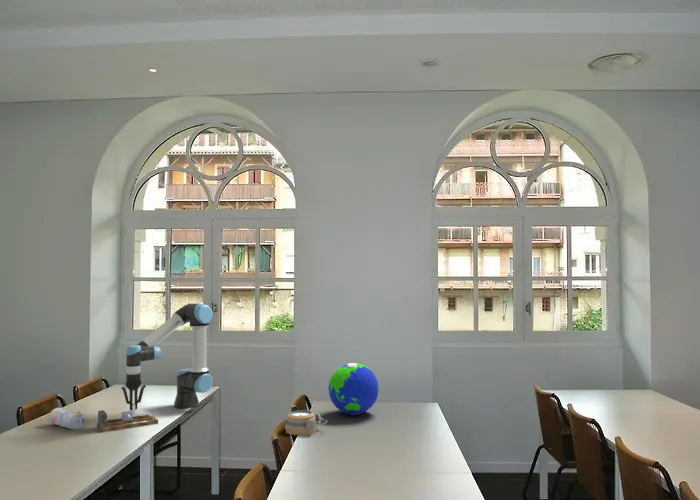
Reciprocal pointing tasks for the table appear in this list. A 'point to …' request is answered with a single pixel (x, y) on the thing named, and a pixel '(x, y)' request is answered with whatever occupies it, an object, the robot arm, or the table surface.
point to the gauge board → (123, 422)
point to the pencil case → (66, 418)
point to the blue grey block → (127, 415)
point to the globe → (353, 388)
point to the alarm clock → (302, 422)
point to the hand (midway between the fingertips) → (133, 415)
